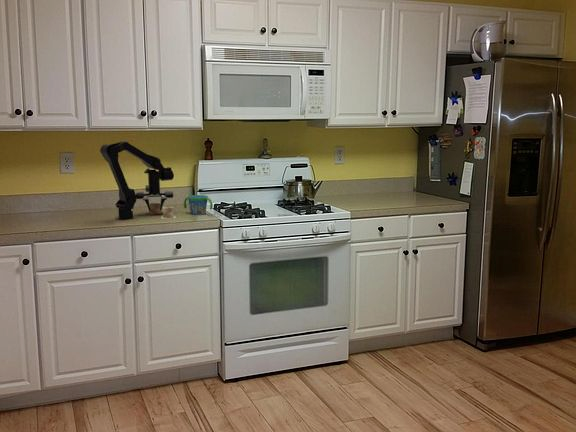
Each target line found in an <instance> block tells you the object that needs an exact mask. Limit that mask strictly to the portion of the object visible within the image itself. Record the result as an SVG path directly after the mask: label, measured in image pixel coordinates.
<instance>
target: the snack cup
mask: <svg viewBox="0 0 576 432" xmlns="http://www.w3.org/2000/svg"><path fill="white" fill-rule="evenodd" d="M187 201H188V205H189V210H190V215H195V216H196V215H197V216H198V215H205V214H206V212H207V205H208V202H209V210H210V211H211V210H213V202H212V199H211V198H210V197H209V196H208V195H205V194H198V195H197V194H192V195H188V196H187V197H185V198H184V201H183V208H184V209H187V207H188V206H187Z"/></svg>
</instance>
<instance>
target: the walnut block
mask: <svg viewBox="0 0 576 432" xmlns="http://www.w3.org/2000/svg"><path fill="white" fill-rule="evenodd" d="M149 205H150V212H149V214H150V215H161V212H160V203H159V202H158V203H156V202H155V203H149Z"/></svg>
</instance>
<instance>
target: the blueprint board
mask: <svg viewBox="0 0 576 432" xmlns="http://www.w3.org/2000/svg"><path fill="white" fill-rule="evenodd" d="M160 217H161V220H166V219H170V218H163V215H162V216H160ZM173 219H177V218H176V215H174V218H173Z"/></svg>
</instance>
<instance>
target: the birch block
mask: <svg viewBox="0 0 576 432" xmlns="http://www.w3.org/2000/svg"><path fill="white" fill-rule="evenodd" d="M162 216H163V218H169V219H175V218H174V216H175V214H174V207H173V206H162Z"/></svg>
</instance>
